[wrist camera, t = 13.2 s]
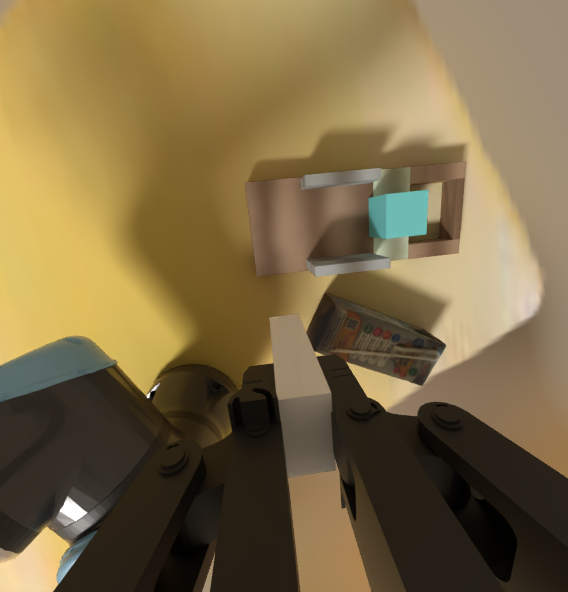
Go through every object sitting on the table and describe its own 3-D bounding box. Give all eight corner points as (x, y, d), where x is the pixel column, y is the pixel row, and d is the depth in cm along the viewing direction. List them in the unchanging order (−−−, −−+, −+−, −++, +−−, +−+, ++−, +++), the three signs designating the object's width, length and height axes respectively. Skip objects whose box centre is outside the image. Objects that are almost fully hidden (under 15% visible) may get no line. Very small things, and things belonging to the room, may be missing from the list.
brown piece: (257, 272, 39) (256, 286, 31) (245, 185, 36) (241, 173, 27) (444, 251, 41) (494, 258, 32) (450, 166, 38) (506, 149, 29)
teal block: (369, 236, 36) (386, 238, 31) (368, 198, 35) (386, 194, 30) (404, 232, 37) (426, 234, 32) (405, 194, 35) (428, 189, 30)
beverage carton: (403, 368, 46) (425, 392, 40) (302, 334, 43) (309, 354, 37) (425, 328, 44) (452, 346, 38) (322, 290, 41) (333, 302, 35)
